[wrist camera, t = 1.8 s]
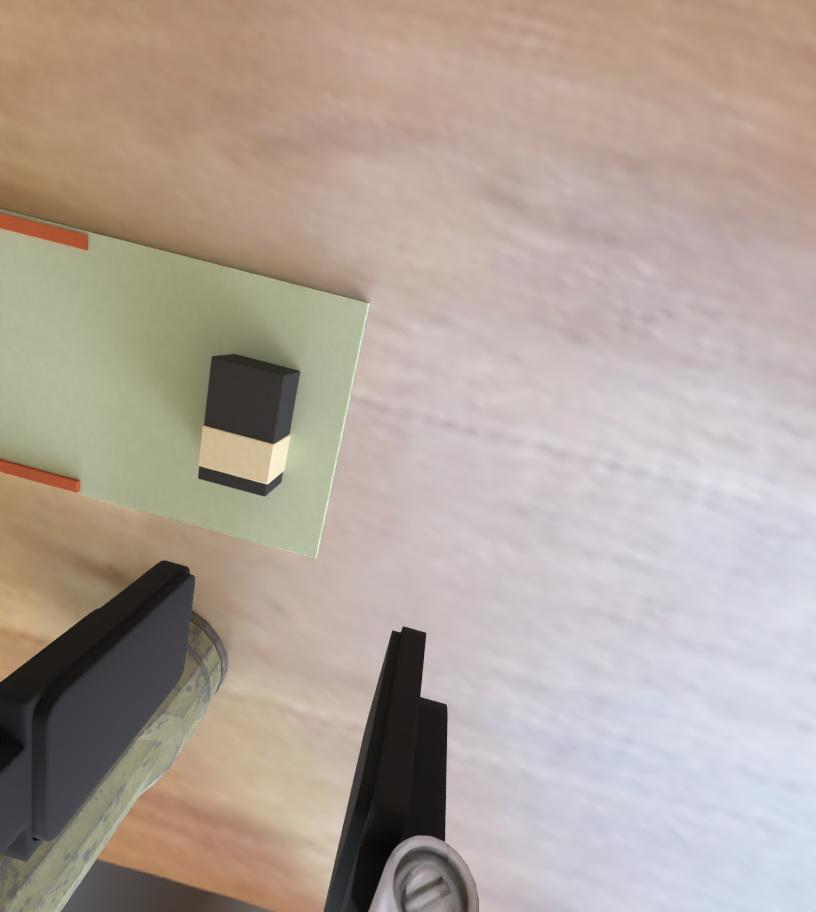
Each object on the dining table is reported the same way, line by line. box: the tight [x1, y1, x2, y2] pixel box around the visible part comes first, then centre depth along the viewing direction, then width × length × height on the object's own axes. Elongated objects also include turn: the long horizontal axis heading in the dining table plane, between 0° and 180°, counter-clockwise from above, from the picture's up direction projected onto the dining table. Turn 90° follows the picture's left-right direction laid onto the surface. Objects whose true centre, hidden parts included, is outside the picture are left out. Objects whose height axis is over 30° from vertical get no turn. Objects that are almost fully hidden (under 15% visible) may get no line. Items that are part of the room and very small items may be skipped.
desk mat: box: [0, 209, 370, 558], centre depth 27 cm, size 16×28×1 cm, turn 76°
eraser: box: [198, 354, 300, 497], centre depth 25 cm, size 7×4×3 cm, turn 166°
